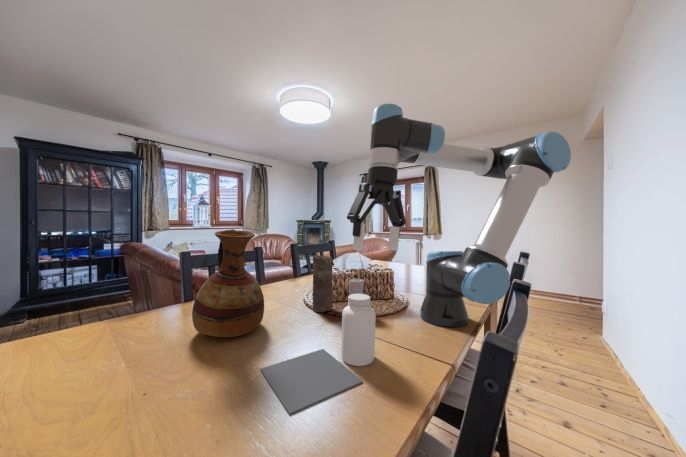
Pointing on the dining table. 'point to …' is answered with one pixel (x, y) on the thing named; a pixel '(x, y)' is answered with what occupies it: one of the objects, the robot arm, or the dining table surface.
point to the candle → (322, 283)
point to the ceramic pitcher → (229, 292)
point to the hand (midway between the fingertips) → (376, 250)
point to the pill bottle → (358, 331)
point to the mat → (308, 379)
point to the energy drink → (356, 286)
